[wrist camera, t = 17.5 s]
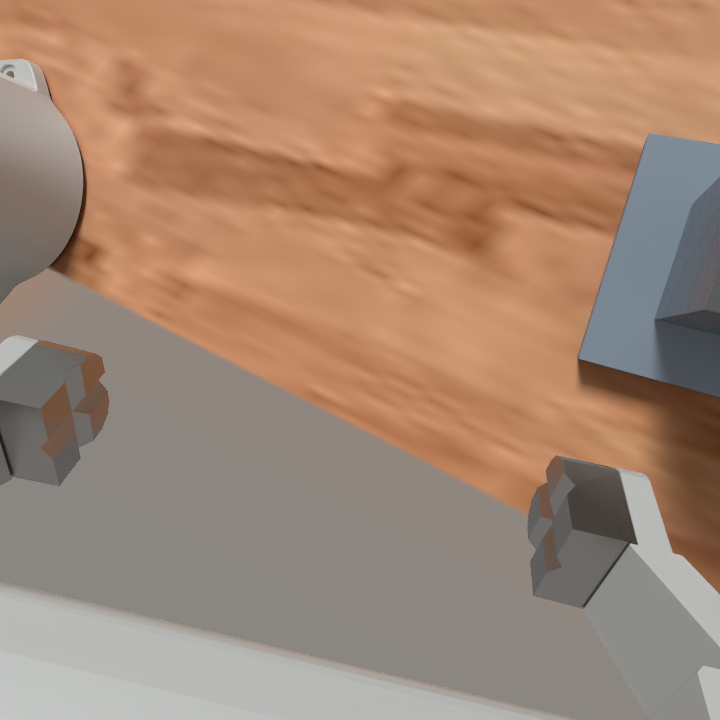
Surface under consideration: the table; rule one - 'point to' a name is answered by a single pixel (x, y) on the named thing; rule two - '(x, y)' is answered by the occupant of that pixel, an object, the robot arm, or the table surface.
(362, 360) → the table surface
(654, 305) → the shaft base
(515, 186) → the table surface
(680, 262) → the steel collar
